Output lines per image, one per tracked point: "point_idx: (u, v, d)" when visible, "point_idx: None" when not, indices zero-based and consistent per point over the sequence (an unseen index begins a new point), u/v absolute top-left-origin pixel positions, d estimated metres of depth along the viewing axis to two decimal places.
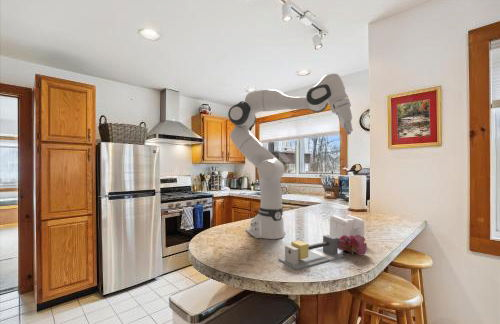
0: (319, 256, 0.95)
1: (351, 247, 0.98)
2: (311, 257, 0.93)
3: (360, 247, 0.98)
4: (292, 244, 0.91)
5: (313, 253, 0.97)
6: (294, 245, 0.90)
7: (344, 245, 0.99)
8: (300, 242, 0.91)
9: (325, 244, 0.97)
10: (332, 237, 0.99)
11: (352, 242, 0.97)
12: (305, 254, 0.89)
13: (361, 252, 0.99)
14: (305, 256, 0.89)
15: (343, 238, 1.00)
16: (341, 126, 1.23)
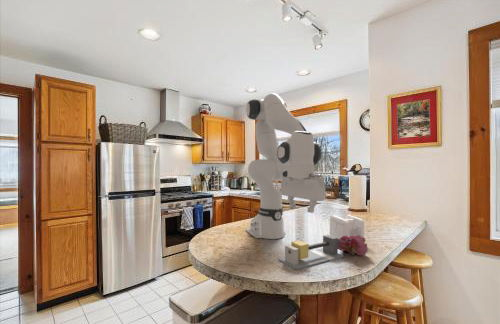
0: (319, 256, 0.95)
1: (351, 248, 0.97)
2: (311, 257, 0.93)
3: (360, 248, 0.97)
4: (292, 244, 0.91)
5: (313, 253, 0.97)
6: (294, 245, 0.90)
7: (344, 246, 0.99)
8: (300, 242, 0.91)
9: (325, 244, 0.97)
10: (332, 237, 0.99)
11: (352, 243, 0.97)
12: (305, 254, 0.89)
13: (361, 253, 0.99)
14: (305, 256, 0.89)
15: (343, 239, 0.99)
16: None
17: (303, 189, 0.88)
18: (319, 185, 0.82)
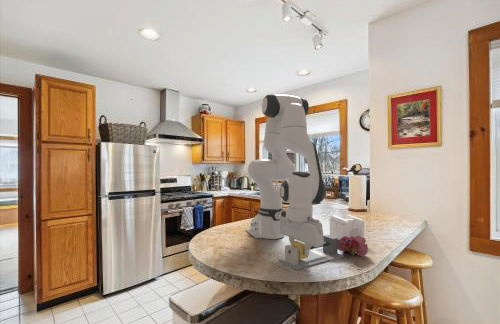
0: (319, 256, 0.95)
1: (352, 248, 0.96)
2: (311, 257, 0.93)
3: (361, 248, 0.96)
4: (292, 244, 0.91)
5: (313, 253, 0.97)
6: (294, 245, 0.90)
7: (345, 247, 0.98)
8: (300, 242, 0.91)
9: (325, 244, 0.97)
10: (332, 237, 0.99)
11: (353, 243, 0.96)
12: None
13: (362, 253, 0.98)
14: (305, 256, 0.89)
15: (344, 239, 0.99)
16: None
17: (301, 232, 0.88)
18: (317, 231, 0.82)
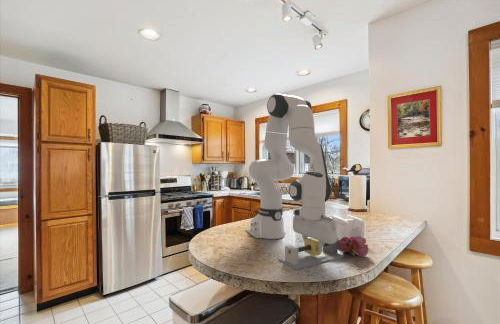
0: (319, 256, 0.95)
1: (352, 249, 0.96)
2: (311, 257, 0.93)
3: (361, 249, 0.96)
4: (305, 241, 0.95)
5: None
6: (307, 242, 0.94)
7: (345, 247, 0.97)
8: (313, 239, 0.95)
9: (325, 244, 0.97)
10: None
11: (353, 244, 0.95)
12: None
13: (362, 254, 0.98)
14: (318, 253, 0.92)
15: (344, 239, 0.98)
16: None
17: (315, 229, 0.91)
18: (330, 229, 0.86)
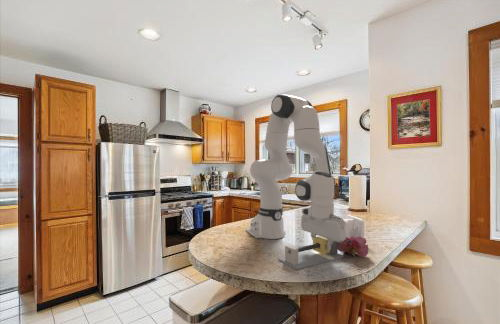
0: (319, 256, 0.95)
1: (352, 249, 0.95)
2: (311, 257, 0.93)
3: (361, 249, 0.96)
4: (314, 240, 0.97)
5: (313, 253, 0.97)
6: (316, 240, 0.96)
7: (345, 247, 0.97)
8: (322, 238, 0.97)
9: None
10: None
11: (353, 244, 0.95)
12: None
13: (362, 254, 0.97)
14: (327, 251, 0.95)
15: (344, 240, 0.98)
16: None
17: (324, 228, 0.94)
18: (340, 227, 0.88)
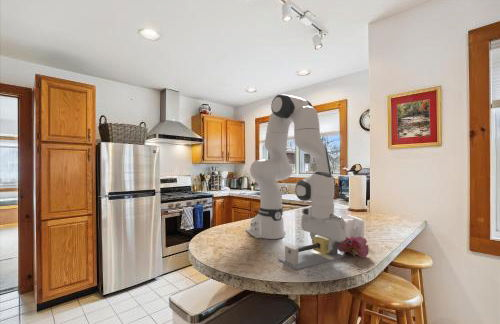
0: (319, 256, 0.95)
1: (352, 249, 0.95)
2: (311, 257, 0.93)
3: (362, 249, 0.95)
4: (314, 239, 0.97)
5: (313, 253, 0.97)
6: (316, 240, 0.97)
7: (345, 247, 0.97)
8: (322, 238, 0.97)
9: None
10: None
11: (353, 244, 0.95)
12: None
13: (363, 254, 0.97)
14: (327, 251, 0.95)
15: None
16: None
17: (324, 228, 0.94)
18: (340, 227, 0.88)
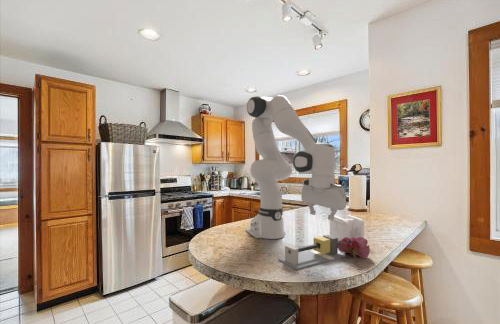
0: (319, 256, 0.95)
1: (353, 249, 0.95)
2: (311, 257, 0.93)
3: (362, 250, 0.95)
4: (314, 239, 0.97)
5: (313, 253, 0.97)
6: (316, 240, 0.97)
7: (346, 248, 0.97)
8: (322, 238, 0.97)
9: None
10: (332, 237, 0.99)
11: (354, 244, 0.95)
12: (327, 248, 0.95)
13: (364, 255, 0.96)
14: (327, 251, 0.95)
15: (345, 240, 0.97)
16: None
17: (324, 197, 0.94)
18: (340, 195, 0.89)
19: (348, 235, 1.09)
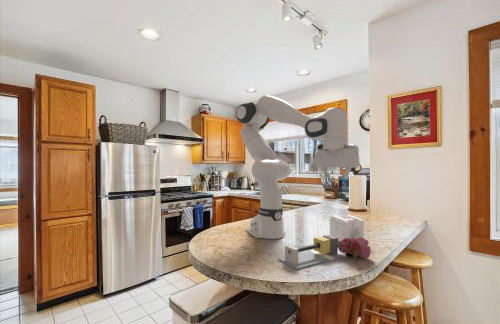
0: (319, 256, 0.95)
1: (353, 250, 0.94)
2: (311, 257, 0.93)
3: (363, 250, 0.94)
4: (314, 239, 0.97)
5: (313, 253, 0.97)
6: (316, 240, 0.97)
7: (346, 248, 0.96)
8: (322, 238, 0.97)
9: None
10: (332, 237, 0.99)
11: (354, 245, 0.94)
12: (327, 248, 0.95)
13: (364, 256, 0.95)
14: (327, 251, 0.95)
15: (345, 241, 0.96)
16: None
17: (338, 158, 1.00)
18: (354, 153, 0.94)
19: (348, 235, 1.09)
